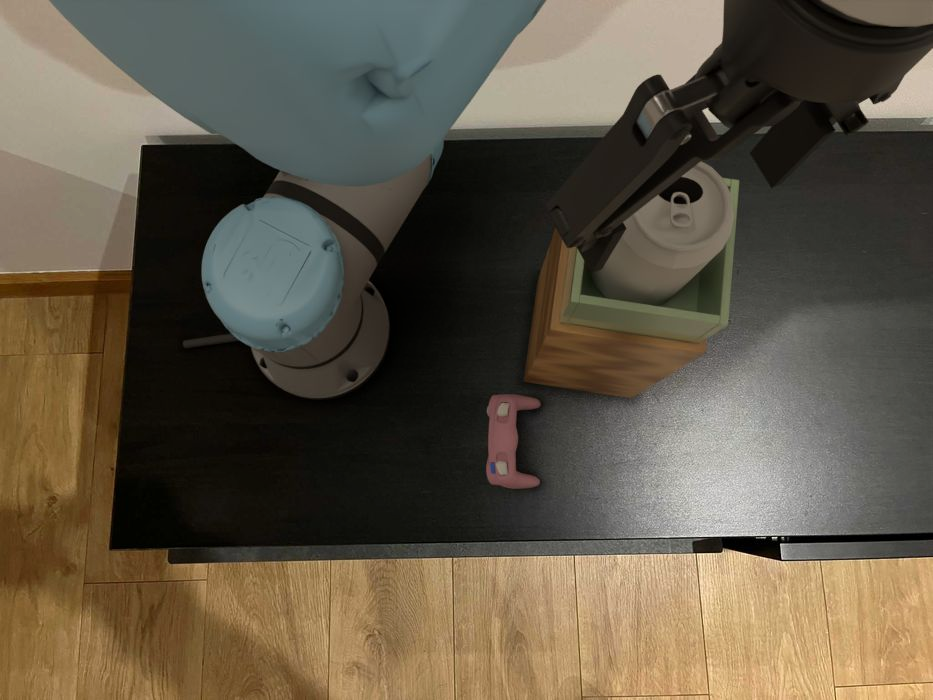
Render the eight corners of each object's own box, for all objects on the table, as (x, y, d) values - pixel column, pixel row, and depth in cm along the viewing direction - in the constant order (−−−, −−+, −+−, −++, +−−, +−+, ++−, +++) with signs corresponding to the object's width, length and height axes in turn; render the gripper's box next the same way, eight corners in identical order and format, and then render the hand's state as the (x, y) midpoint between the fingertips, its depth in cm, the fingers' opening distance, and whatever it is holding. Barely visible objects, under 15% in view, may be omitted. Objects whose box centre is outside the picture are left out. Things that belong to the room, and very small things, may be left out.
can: (683, 225, 54) (744, 149, 43) (681, 317, 53) (744, 264, 41) (588, 217, 54) (623, 139, 43) (583, 308, 53) (618, 254, 41)
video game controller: (505, 399, 78) (478, 389, 72) (543, 397, 76) (519, 387, 70) (503, 489, 76) (475, 487, 70) (543, 490, 74) (518, 488, 67)
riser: (523, 381, 77) (550, 329, 53) (537, 279, 79) (569, 186, 56) (631, 398, 76) (706, 353, 53) (642, 294, 79) (718, 208, 55)
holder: (558, 323, 53) (570, 301, 47) (575, 194, 56) (589, 157, 50) (698, 344, 53) (728, 325, 47) (710, 213, 55) (739, 179, 49)
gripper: (602, 188, 21) (531, 345, 42) (1248, -110, 23) (873, 180, 44) (489, -9, 22) (476, 239, 43) (1110, -271, 24) (810, 85, 45)
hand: (677, 210), depth 44 cm, fingers open, 12 cm apart
